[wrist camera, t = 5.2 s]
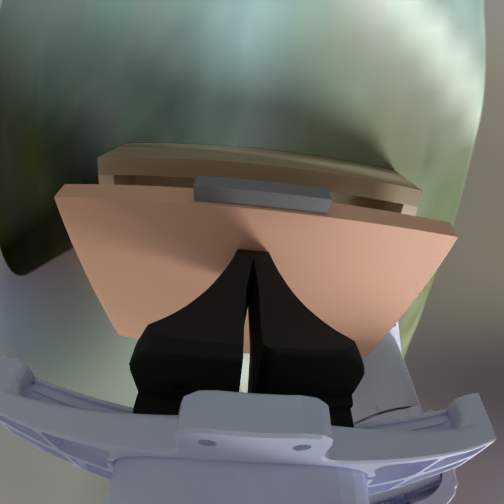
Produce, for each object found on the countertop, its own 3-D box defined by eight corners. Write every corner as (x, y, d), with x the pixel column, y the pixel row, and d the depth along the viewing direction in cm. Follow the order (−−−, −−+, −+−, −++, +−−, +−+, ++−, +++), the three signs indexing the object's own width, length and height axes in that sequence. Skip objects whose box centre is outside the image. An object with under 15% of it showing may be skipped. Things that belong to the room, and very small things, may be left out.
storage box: (352, 308, 24) (363, 343, 20) (139, 288, 23) (123, 321, 20) (395, 170, 18) (422, 190, 14) (126, 143, 17) (97, 157, 14)
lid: (362, 348, 20) (363, 359, 20) (123, 326, 20) (120, 337, 19) (456, 211, 11) (465, 225, 10) (61, 171, 11) (49, 183, 10)
